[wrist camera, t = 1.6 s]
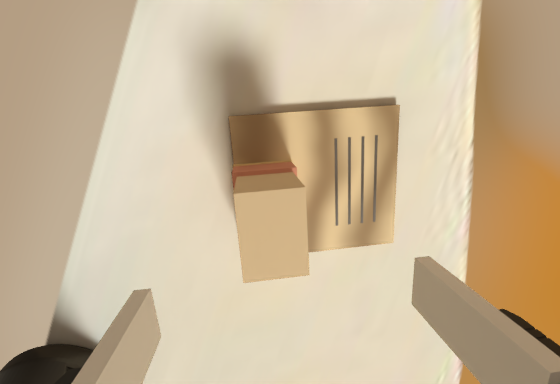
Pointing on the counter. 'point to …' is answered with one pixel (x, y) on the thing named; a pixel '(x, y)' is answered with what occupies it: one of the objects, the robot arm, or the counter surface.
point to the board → (332, 167)
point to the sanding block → (271, 220)
